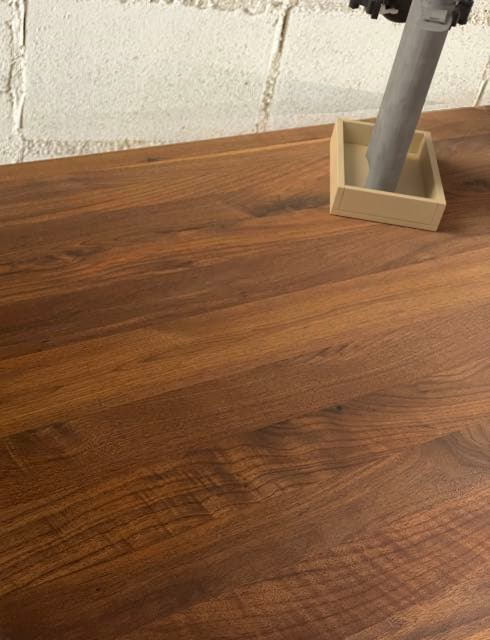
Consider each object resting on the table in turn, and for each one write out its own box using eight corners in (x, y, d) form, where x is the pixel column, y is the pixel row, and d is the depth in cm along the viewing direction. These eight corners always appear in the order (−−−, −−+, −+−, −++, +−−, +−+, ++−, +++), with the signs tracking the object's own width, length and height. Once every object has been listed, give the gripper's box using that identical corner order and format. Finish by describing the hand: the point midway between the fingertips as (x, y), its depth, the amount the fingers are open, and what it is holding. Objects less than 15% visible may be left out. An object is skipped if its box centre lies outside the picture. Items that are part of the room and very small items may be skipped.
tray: (421, 157, 112) (430, 131, 109) (436, 231, 96) (446, 204, 94) (329, 142, 113) (336, 117, 110) (329, 214, 97) (337, 186, 95)
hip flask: (365, 150, 110) (422, -37, 96) (398, 156, 109) (460, -31, 95) (360, 201, 99) (423, -2, 85) (397, 208, 98) (466, 5, 84)
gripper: (358, -61, 113) (362, -31, 101) (471, -45, 112) (488, -13, 100) (341, 6, 118) (343, 41, 106) (448, 22, 117) (462, 59, 105)
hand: (413, 15), depth 103 cm, fingers open, 8 cm apart
